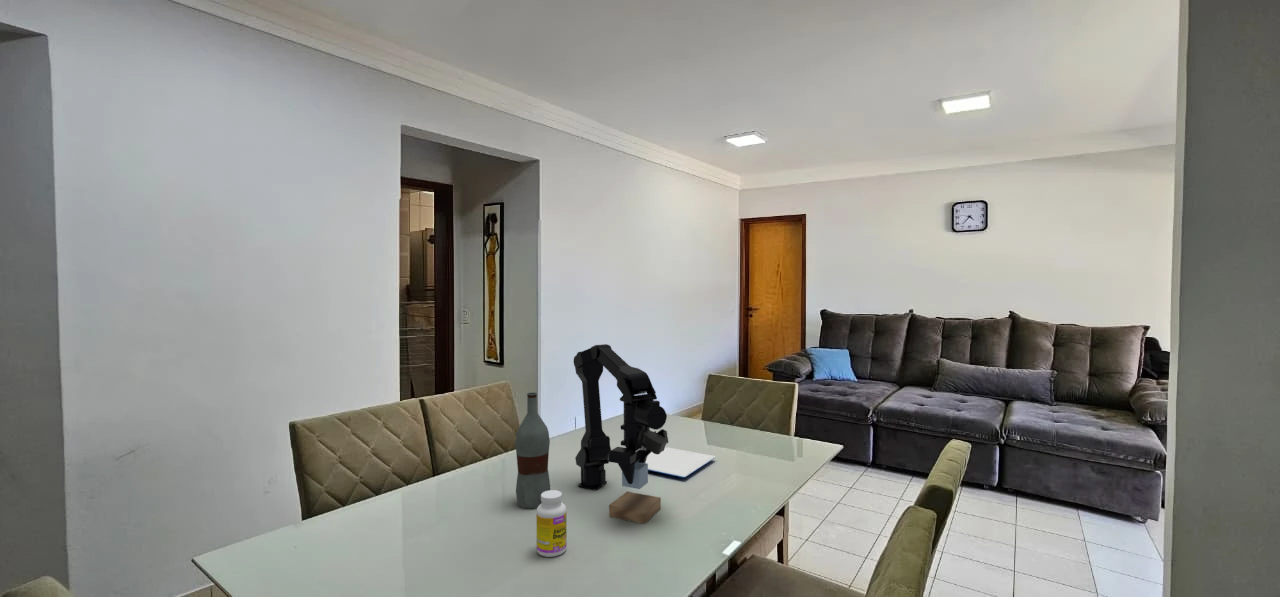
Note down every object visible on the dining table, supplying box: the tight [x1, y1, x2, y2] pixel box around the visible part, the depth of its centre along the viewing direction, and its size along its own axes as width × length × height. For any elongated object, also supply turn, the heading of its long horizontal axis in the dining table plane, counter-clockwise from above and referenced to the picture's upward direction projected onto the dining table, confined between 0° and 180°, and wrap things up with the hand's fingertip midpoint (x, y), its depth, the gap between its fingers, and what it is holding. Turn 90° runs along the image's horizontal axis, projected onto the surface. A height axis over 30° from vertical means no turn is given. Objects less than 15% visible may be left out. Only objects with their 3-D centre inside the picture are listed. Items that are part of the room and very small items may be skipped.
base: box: [608, 491, 662, 525], centre depth 143 cm, size 10×10×3 cm
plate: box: [645, 446, 716, 479], centre depth 180 cm, size 22×22×2 cm
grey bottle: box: [514, 391, 551, 509], centre depth 149 cm, size 9×9×30 cm
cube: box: [621, 462, 649, 490], centre depth 142 cm, size 5×5×5 cm
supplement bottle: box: [535, 489, 568, 558], centre depth 123 cm, size 7×7×13 cm
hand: (634, 480), depth 143 cm, fingers closed on cube, 5 cm apart
